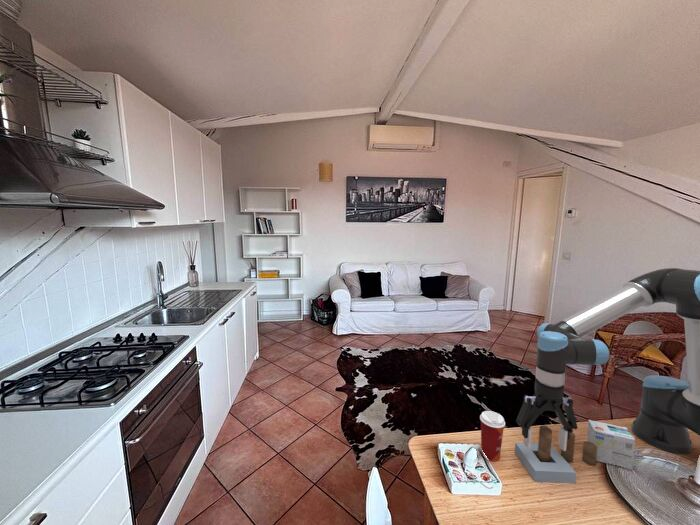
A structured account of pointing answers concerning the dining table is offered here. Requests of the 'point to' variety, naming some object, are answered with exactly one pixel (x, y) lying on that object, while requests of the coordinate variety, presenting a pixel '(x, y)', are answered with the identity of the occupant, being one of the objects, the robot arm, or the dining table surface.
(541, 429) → the tall walnut dowel
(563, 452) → the medium walnut dowel
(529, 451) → the drilled block
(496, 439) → the paper cup
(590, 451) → the short walnut dowel
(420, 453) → the dining table surface
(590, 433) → the light bulb box
